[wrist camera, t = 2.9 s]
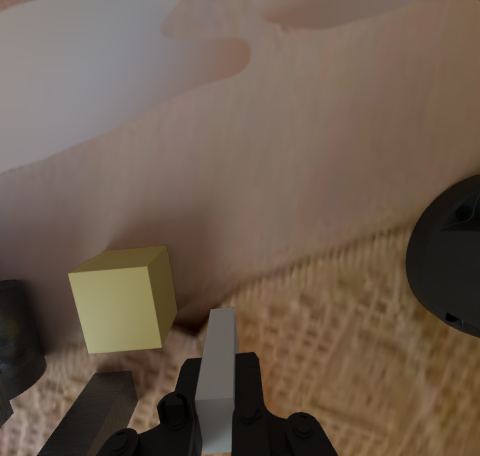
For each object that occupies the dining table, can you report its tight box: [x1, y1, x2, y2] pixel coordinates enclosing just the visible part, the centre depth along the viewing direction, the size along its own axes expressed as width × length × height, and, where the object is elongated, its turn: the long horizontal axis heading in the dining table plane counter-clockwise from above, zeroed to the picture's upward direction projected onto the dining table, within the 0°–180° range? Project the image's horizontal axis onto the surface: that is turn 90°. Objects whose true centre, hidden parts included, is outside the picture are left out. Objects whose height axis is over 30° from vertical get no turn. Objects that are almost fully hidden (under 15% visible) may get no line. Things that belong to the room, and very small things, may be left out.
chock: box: [68, 245, 178, 354], centre depth 23 cm, size 6×7×6 cm
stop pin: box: [37, 371, 138, 456], centre depth 23 cm, size 4×4×11 cm
